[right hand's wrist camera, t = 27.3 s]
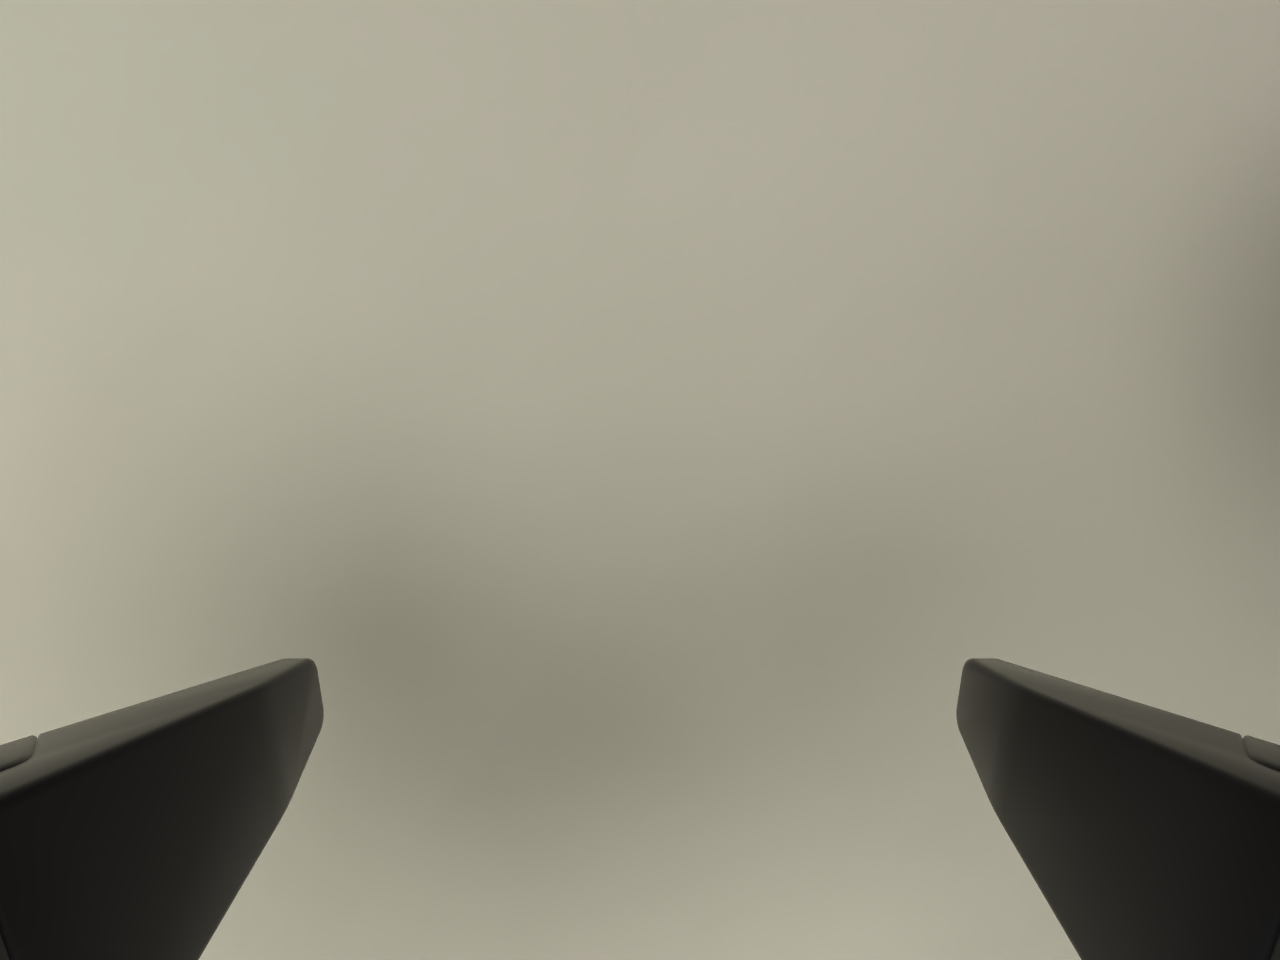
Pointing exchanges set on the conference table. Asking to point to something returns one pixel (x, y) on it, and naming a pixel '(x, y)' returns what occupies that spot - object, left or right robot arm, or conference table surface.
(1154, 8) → the conference table surface
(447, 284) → the conference table surface
